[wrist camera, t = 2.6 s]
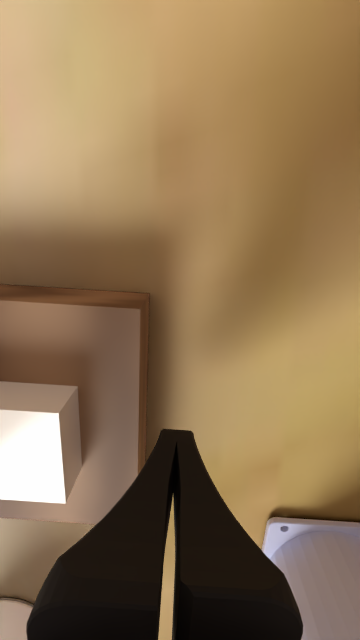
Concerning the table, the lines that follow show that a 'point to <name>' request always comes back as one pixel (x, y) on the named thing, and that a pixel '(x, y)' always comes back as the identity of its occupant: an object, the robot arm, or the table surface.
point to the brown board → (83, 384)
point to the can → (14, 618)
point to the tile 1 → (39, 441)
